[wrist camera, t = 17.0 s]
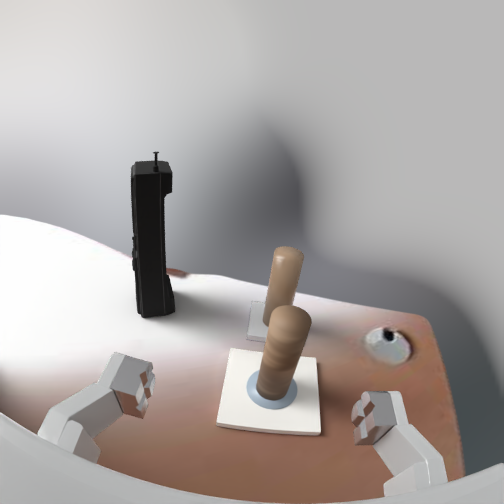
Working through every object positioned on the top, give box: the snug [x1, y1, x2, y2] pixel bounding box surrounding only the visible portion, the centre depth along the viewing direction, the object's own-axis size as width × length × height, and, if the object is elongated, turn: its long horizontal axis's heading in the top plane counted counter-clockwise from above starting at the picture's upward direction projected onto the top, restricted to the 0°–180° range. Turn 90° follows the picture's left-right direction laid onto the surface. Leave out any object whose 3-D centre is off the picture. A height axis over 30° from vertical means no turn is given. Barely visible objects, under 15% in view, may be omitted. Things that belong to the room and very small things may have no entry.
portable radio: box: [131, 152, 175, 318], centre depth 41 cm, size 8×6×25 cm
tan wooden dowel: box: [246, 247, 304, 342], centre depth 43 cm, size 8×8×13 cm
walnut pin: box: [256, 305, 311, 401], centre depth 31 cm, size 4×4×12 cm
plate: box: [216, 348, 321, 435], centre depth 34 cm, size 12×12×1 cm
